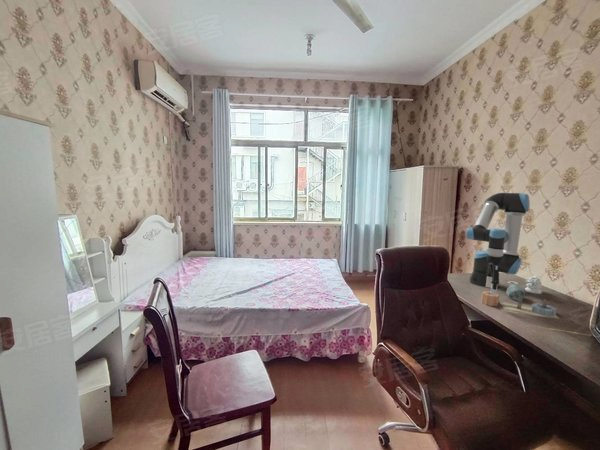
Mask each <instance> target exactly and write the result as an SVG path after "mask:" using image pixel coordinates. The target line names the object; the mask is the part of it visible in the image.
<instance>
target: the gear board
mask: <svg viewBox="0 0 600 450" xmlns="http://www.w3.org/2000/svg"><path fill="white" fill-rule="evenodd" d="M522 298H523V297H521V296H519V298H518V301H517V303H511V302H503V301H499V303H500V305H501V306H502V308H503V310H504V311H505V312H508V313H509V312H510V313H516V314H523V315H528V316H533V317H534V316H535V317H541V318H547V319H548V318H549V319H555V320H560V317H558V316H557V315H555V316H544V315H541V314H537V313H535V312H534V311H532V310H531V307H532V305H524V304H523V300H522ZM547 303H548V300H547V299H542V303H541V304H542V307H544V308H546V305H548V304H547Z"/></svg>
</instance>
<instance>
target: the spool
mask: <svg viewBox="0 0 600 450" xmlns="http://www.w3.org/2000/svg"><path fill="white" fill-rule="evenodd" d="M506 295H507V297H508V298H510V300H513V301H515V302H518V298H519V296H521V297H523V298H522V301H523V300H524V299H525V296H526V290H525V288H523V287H522V286H520V285H517V284H510V285H509V286H508V287H507V289H506Z"/></svg>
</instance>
